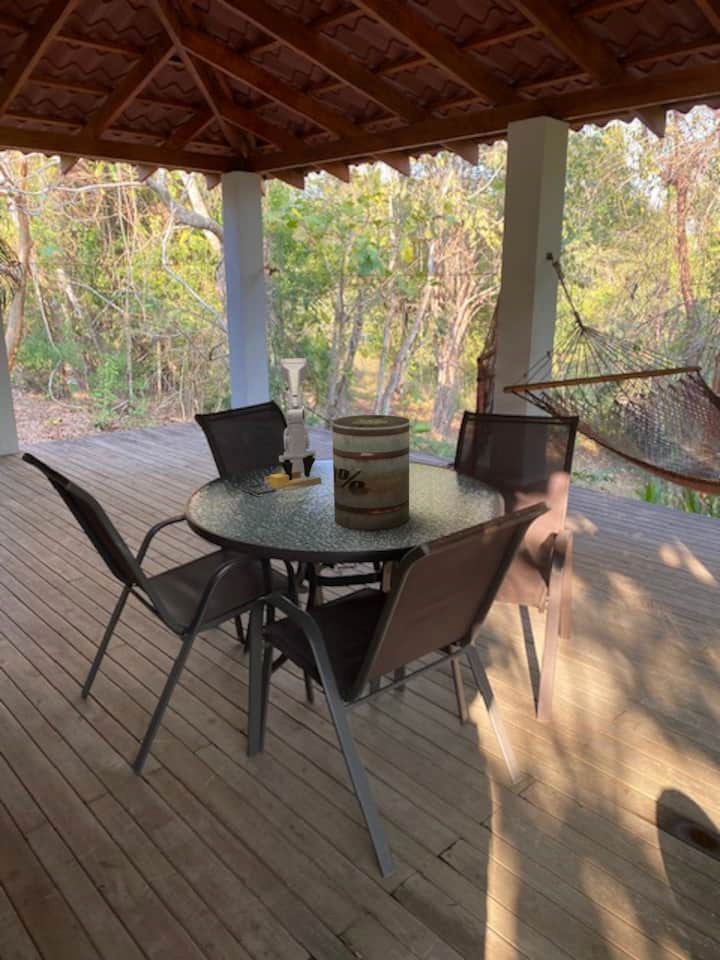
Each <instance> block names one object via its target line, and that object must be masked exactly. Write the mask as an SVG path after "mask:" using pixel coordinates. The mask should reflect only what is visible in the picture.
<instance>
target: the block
mask: <svg viewBox="0 0 720 960" xmlns="http://www.w3.org/2000/svg"><path fill="white" fill-rule="evenodd" d="M269 476H270V483H269V486H270V487H272V488H273V489H274V488H275V489H284V484H286V483H290V482H289V475H286V474H284V473H282V472H280V473H275V474H269Z"/></svg>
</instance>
